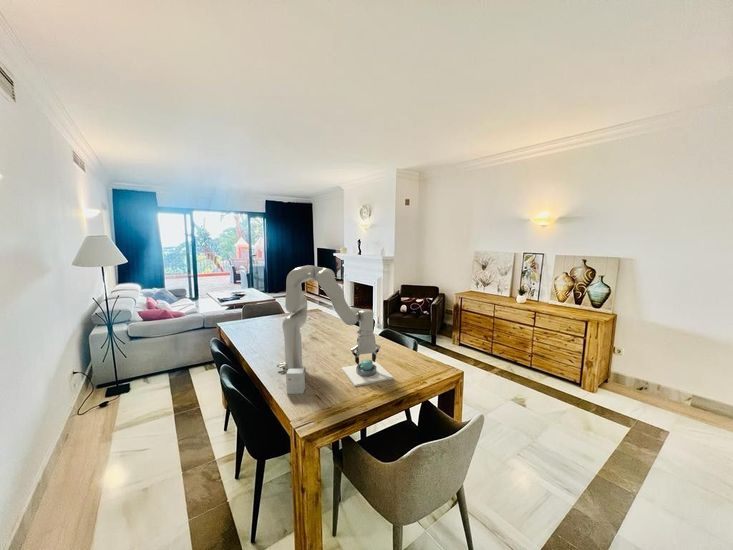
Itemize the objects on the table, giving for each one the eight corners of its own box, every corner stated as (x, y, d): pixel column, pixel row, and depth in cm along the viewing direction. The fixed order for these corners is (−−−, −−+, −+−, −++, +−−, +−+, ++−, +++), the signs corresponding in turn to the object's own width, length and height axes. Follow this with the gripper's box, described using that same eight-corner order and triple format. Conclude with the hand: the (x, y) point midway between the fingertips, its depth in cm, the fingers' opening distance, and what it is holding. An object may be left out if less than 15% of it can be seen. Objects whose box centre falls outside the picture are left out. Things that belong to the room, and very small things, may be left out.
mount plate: (354, 386, 150) (354, 384, 150) (341, 369, 170) (341, 367, 170) (393, 378, 159) (393, 377, 159) (376, 363, 179) (376, 361, 179)
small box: (305, 388, 149) (304, 368, 148) (303, 393, 143) (302, 373, 142) (289, 388, 149) (288, 368, 147) (286, 394, 143) (285, 373, 142)
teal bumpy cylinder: (362, 375, 160) (362, 364, 160) (358, 371, 166) (358, 360, 165) (375, 373, 163) (375, 362, 162) (371, 368, 169) (371, 358, 168)
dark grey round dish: (360, 378, 157) (360, 372, 157) (353, 369, 167) (353, 364, 167) (379, 374, 162) (379, 369, 161) (371, 366, 171) (371, 361, 171)
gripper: (353, 336, 155) (353, 367, 157) (383, 332, 162) (382, 362, 164) (348, 331, 162) (348, 361, 164) (377, 328, 168) (377, 357, 171)
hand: (365, 362), depth 164 cm, fingers open, 9 cm apart
